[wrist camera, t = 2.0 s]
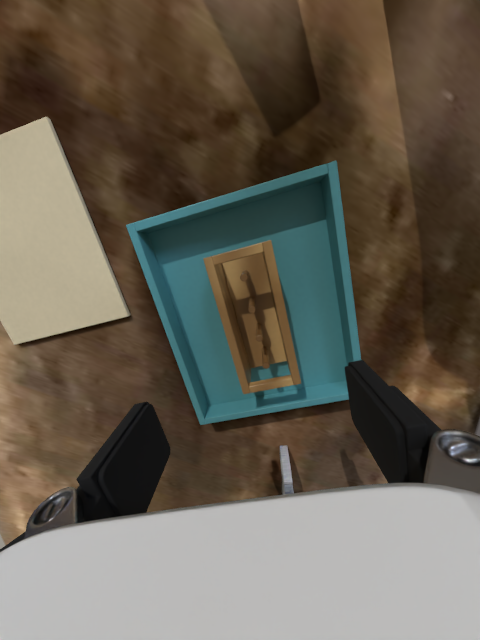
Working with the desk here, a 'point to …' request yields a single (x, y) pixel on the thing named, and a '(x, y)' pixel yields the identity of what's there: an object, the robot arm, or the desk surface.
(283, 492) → the caliper
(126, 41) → the desk surface
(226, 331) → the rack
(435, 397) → the desk surface
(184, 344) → the teal tray
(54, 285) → the mat
